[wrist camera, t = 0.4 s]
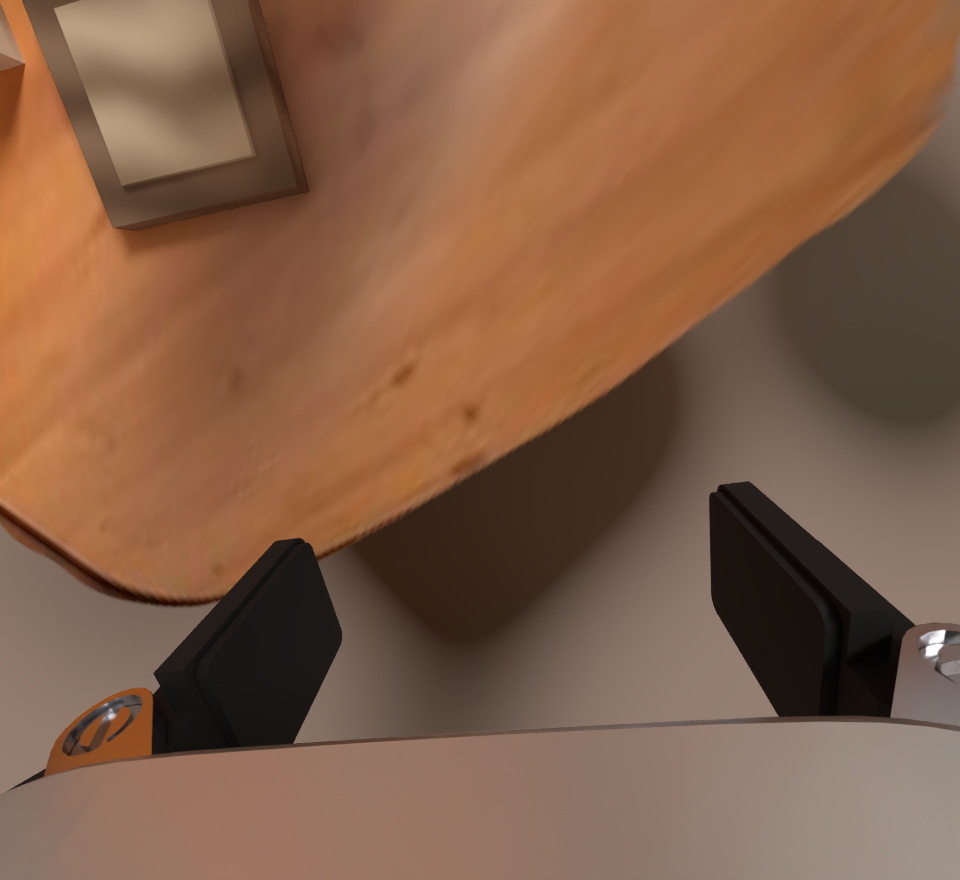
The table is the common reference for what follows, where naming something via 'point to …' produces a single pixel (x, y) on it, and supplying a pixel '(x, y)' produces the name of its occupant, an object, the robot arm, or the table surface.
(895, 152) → the table surface
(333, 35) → the table surface
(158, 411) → the table surface
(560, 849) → the robot arm
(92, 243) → the table surface
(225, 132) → the base
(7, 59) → the oak block
